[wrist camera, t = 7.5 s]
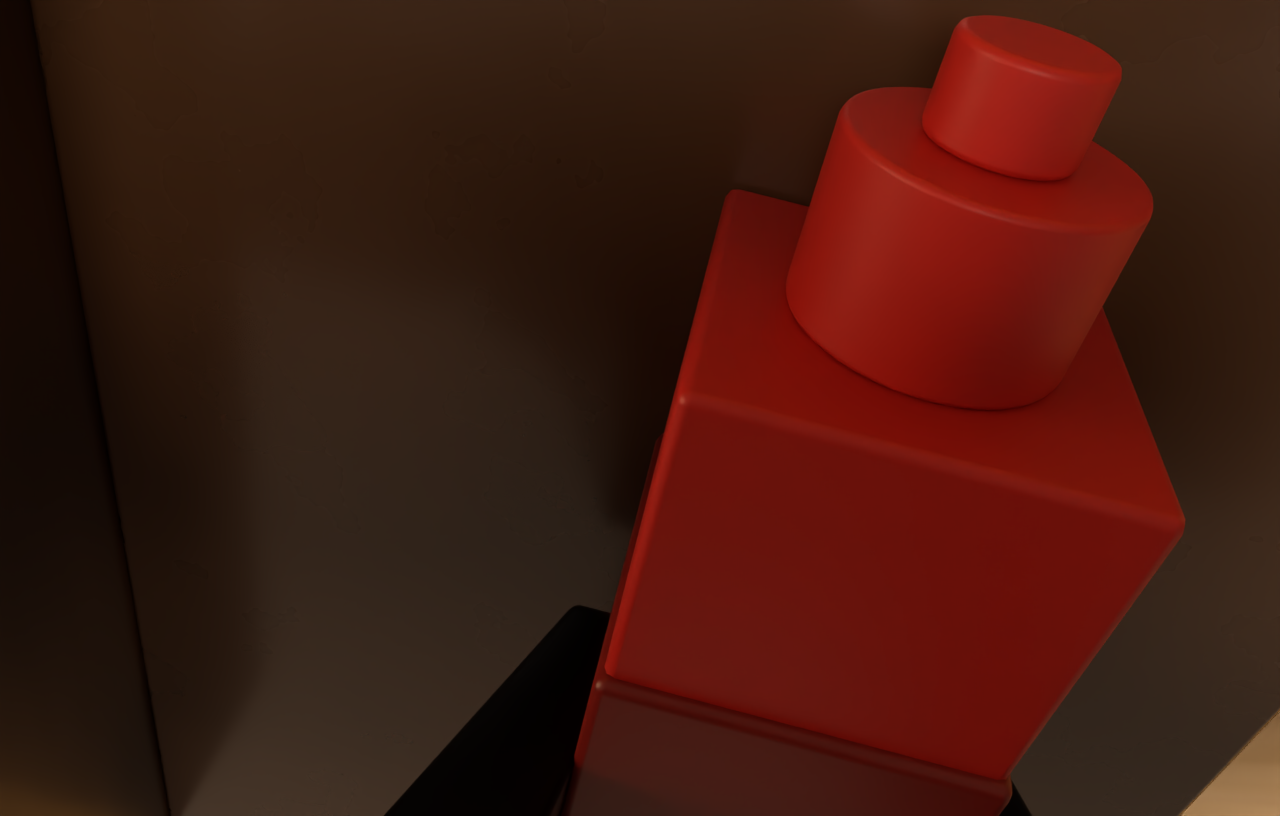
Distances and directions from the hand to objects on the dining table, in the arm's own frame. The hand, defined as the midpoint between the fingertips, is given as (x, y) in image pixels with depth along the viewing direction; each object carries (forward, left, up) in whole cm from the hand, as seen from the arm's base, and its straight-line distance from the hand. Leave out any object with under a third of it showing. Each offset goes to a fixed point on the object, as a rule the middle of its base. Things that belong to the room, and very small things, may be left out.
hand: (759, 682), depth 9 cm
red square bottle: (0, 0, -1) cm, 1 cm away
